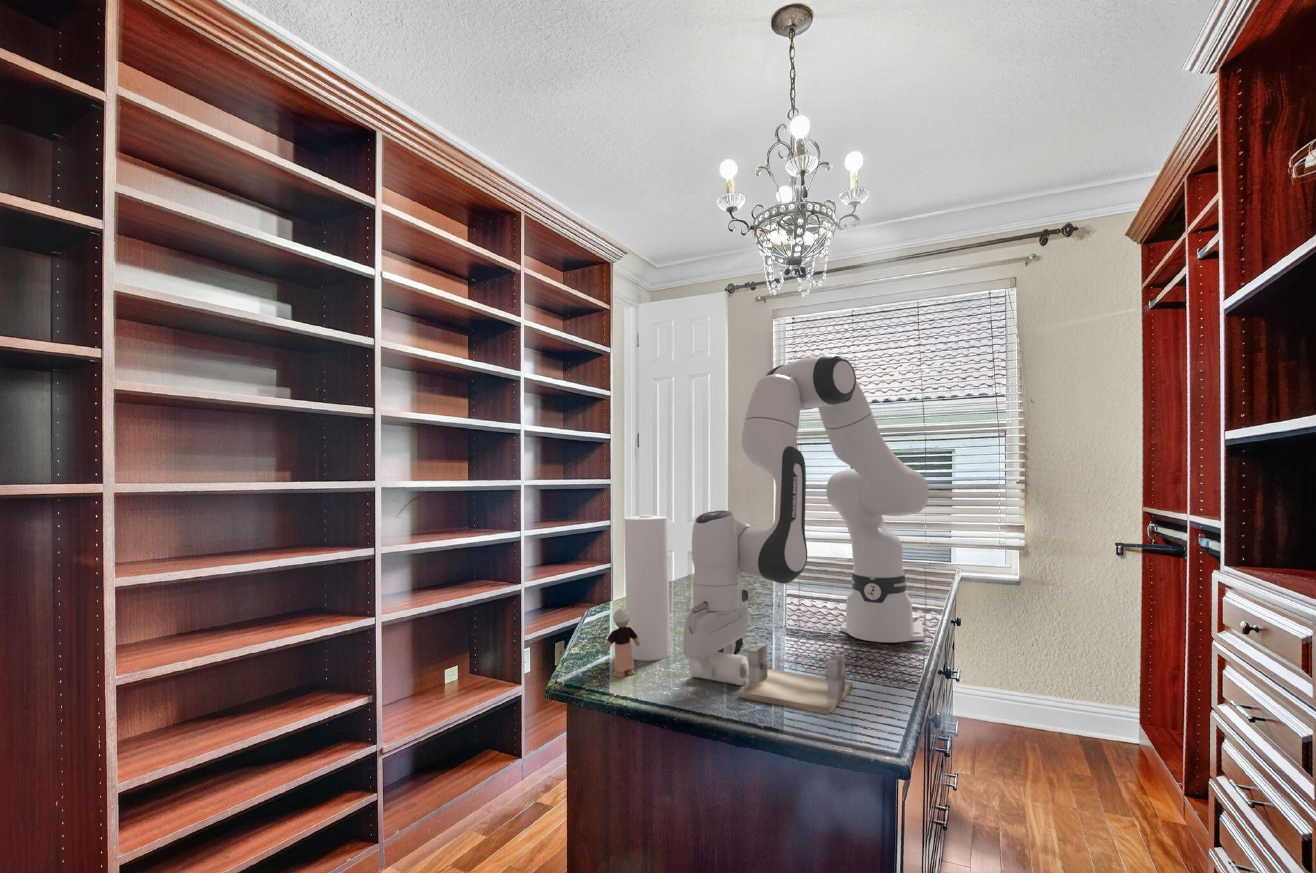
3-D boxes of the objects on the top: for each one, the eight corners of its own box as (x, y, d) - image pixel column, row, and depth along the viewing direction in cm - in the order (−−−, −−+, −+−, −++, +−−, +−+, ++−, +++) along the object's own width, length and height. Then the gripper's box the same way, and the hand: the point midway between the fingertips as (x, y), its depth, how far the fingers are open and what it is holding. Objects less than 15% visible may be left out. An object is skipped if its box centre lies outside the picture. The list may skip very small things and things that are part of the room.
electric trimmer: (748, 650, 141) (747, 635, 141) (713, 668, 128) (713, 652, 128) (732, 647, 143) (732, 633, 143) (697, 665, 130) (697, 649, 130)
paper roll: (690, 682, 122) (685, 658, 120) (702, 665, 126) (697, 643, 125) (741, 691, 116) (736, 667, 115) (751, 674, 120) (747, 650, 119)
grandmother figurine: (630, 667, 128) (629, 604, 129) (643, 671, 126) (641, 607, 126) (600, 677, 123) (599, 611, 124) (613, 681, 120) (612, 614, 121)
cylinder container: (619, 658, 135) (617, 516, 137) (637, 646, 144) (635, 513, 145) (660, 662, 132) (657, 517, 133) (676, 649, 140) (673, 513, 142)
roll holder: (769, 673, 123) (768, 637, 123) (852, 687, 114) (851, 648, 115) (738, 696, 111) (737, 656, 111) (828, 714, 102) (827, 670, 103)
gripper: (704, 610, 110) (707, 691, 109) (753, 589, 127) (755, 659, 127) (673, 606, 113) (675, 685, 113) (724, 586, 131) (726, 654, 130)
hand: (718, 671), depth 120 cm, fingers open, 6 cm apart
